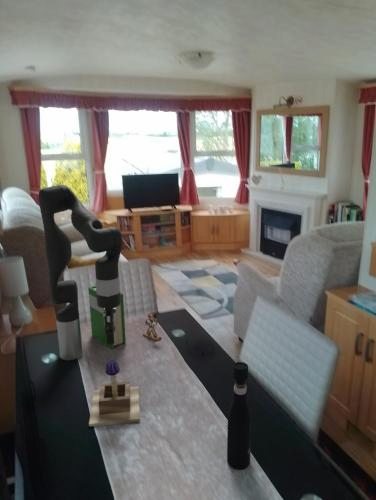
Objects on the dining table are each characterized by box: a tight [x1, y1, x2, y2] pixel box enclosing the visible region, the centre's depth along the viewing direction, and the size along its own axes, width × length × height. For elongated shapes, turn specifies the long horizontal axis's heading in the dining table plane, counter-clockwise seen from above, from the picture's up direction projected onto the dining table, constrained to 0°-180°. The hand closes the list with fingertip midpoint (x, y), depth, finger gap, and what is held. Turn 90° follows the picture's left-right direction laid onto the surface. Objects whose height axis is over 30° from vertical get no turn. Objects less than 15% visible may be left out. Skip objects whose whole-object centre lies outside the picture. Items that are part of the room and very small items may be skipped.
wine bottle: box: [226, 361, 252, 471], centre depth 107 cm, size 6×6×30 cm
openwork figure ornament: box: [142, 312, 162, 342], centre depth 182 cm, size 9×4×12 cm, turn 47°
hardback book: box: [87, 285, 127, 350], centre depth 179 cm, size 18×7×24 cm, turn 41°
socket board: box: [88, 380, 141, 427], centre depth 134 cm, size 18×16×6 cm
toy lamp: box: [104, 358, 120, 397], centre depth 132 cm, size 5×5×17 cm
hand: (111, 337), depth 128 cm, fingers open, 8 cm apart
